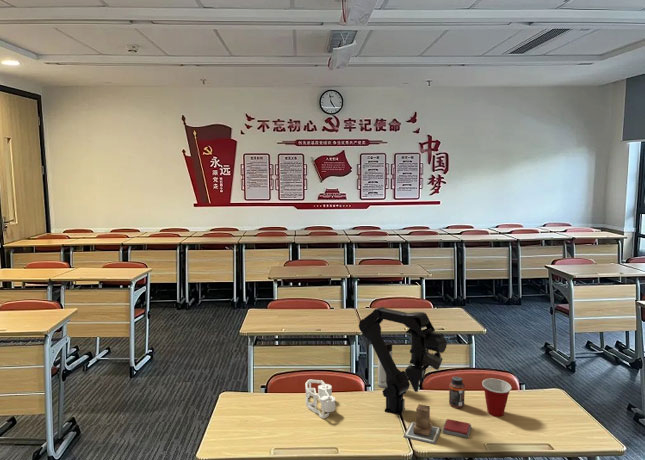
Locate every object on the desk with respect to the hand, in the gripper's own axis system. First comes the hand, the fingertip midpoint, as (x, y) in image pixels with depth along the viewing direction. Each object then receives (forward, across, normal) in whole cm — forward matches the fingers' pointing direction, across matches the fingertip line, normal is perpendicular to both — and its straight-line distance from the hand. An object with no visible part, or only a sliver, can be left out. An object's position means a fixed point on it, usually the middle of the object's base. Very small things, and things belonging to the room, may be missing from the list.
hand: (418, 386), depth 173 cm
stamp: (+13, -9, -3) cm, 16 cm away
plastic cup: (+14, +17, -26) cm, 34 cm away
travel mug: (+13, +24, +21) cm, 34 cm away
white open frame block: (+13, -5, +39) cm, 42 cm away
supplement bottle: (+13, +18, -11) cm, 25 cm away
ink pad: (+13, -2, -14) cm, 20 cm away
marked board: (+13, -9, -3) cm, 16 cm away
